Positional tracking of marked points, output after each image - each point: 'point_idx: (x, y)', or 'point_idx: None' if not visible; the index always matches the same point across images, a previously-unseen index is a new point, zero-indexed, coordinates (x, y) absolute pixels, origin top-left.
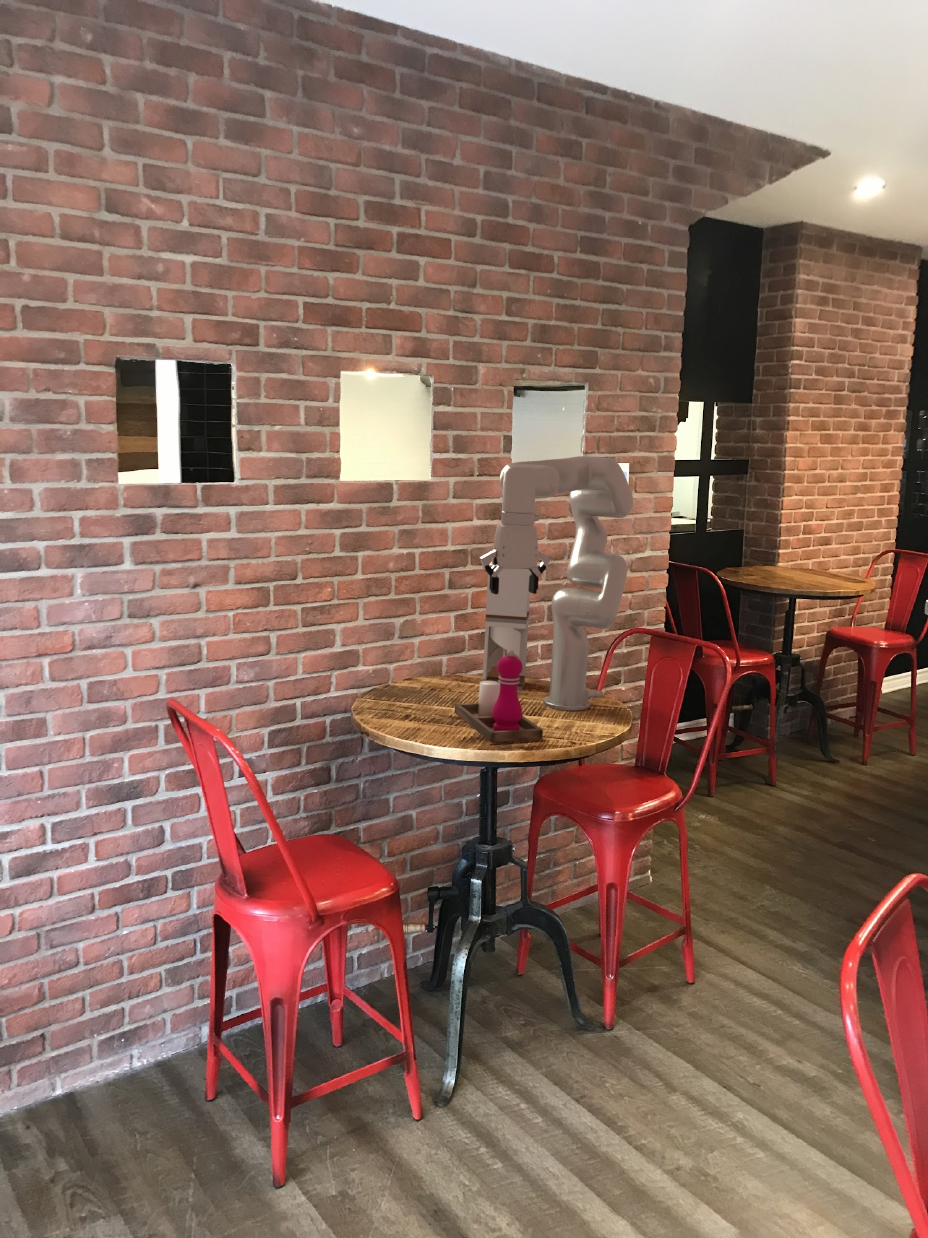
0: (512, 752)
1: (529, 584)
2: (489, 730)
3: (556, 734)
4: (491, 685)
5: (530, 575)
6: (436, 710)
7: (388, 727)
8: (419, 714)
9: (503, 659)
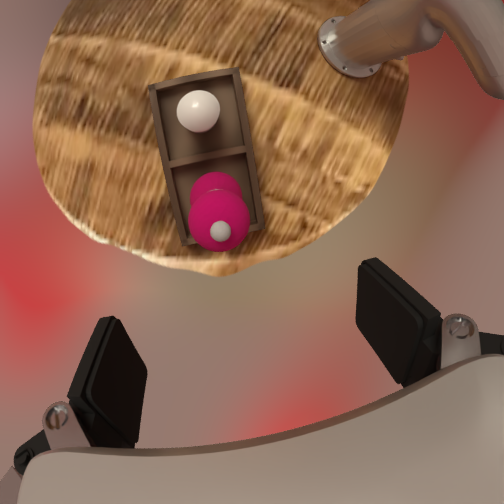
0: (209, 266)
1: (381, 295)
2: (181, 235)
3: (293, 186)
4: (197, 128)
5: (424, 328)
6: (129, 65)
7: (56, 166)
8: (100, 91)
9: (200, 238)
